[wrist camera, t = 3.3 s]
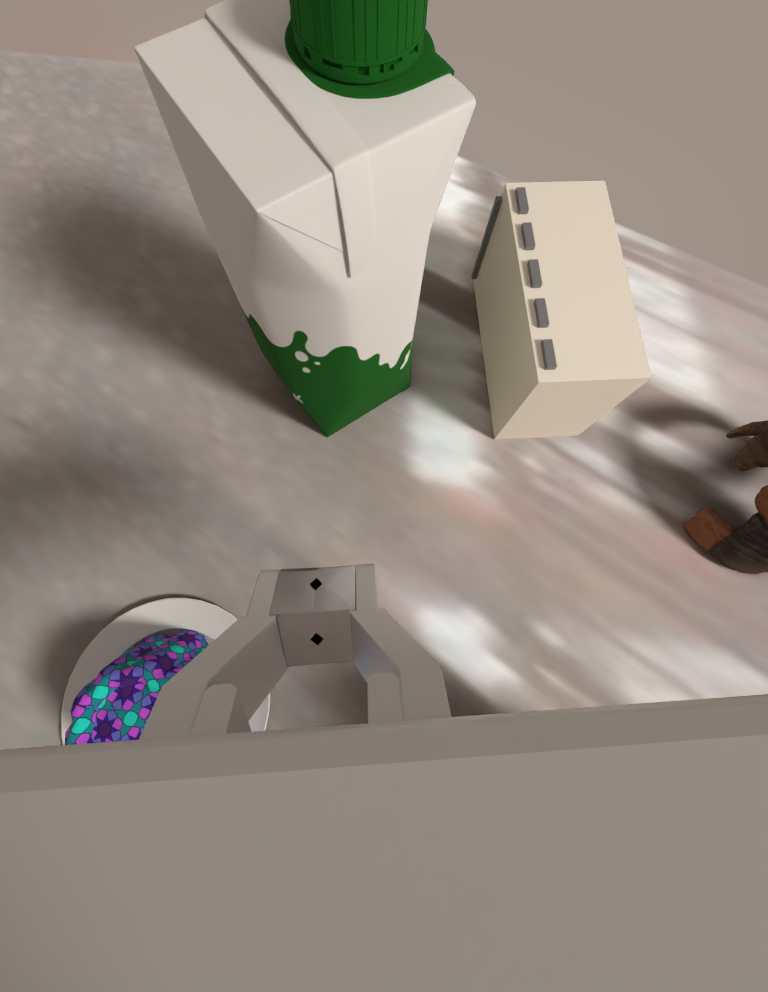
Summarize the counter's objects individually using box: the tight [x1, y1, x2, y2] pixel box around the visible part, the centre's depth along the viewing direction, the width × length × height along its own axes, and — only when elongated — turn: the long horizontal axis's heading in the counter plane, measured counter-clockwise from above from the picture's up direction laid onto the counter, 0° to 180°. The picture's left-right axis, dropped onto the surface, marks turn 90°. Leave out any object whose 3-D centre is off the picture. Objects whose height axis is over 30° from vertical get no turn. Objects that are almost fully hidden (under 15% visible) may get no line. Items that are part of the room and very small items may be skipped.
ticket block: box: [472, 181, 651, 440], centre depth 27 cm, size 6×13×8 cm, turn 3°
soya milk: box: [134, 0, 476, 437], centre depth 20 cm, size 9×9×20 cm
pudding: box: [61, 598, 270, 745], centre depth 22 cm, size 12×12×5 cm
